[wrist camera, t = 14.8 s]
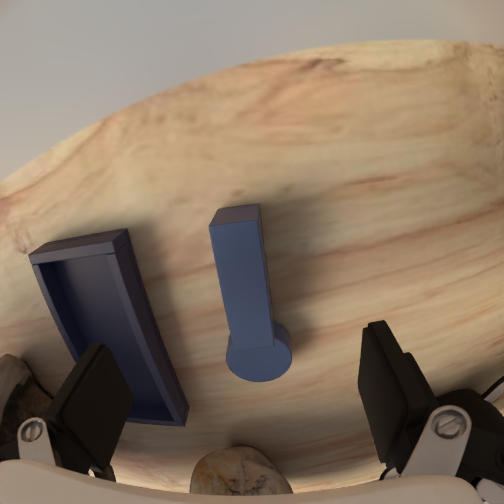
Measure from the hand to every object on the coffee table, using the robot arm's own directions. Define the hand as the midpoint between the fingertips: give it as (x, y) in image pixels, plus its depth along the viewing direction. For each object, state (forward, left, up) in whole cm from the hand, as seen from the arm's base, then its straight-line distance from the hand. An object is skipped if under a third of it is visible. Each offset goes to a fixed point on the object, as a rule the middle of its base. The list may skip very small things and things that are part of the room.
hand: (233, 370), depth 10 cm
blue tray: (+4, -10, -8) cm, 13 cm away
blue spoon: (+2, 0, -8) cm, 8 cm away
